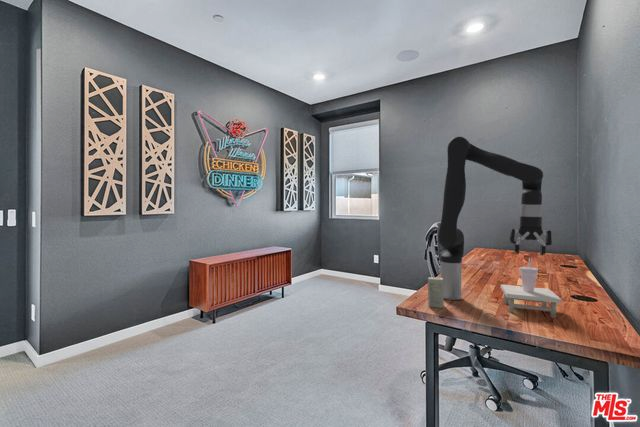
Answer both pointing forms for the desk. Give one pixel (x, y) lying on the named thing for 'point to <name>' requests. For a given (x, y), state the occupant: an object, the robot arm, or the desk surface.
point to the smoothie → (528, 277)
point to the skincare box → (435, 292)
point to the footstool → (530, 298)
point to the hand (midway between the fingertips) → (529, 254)
